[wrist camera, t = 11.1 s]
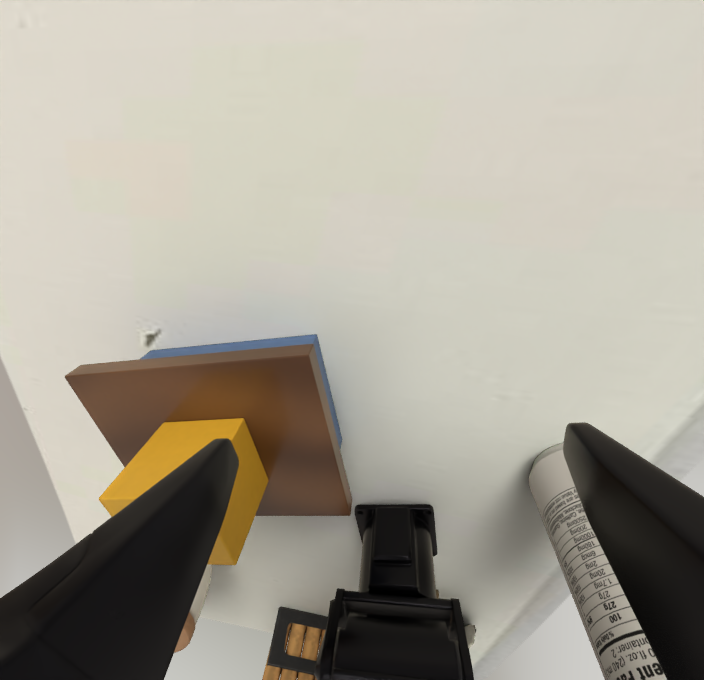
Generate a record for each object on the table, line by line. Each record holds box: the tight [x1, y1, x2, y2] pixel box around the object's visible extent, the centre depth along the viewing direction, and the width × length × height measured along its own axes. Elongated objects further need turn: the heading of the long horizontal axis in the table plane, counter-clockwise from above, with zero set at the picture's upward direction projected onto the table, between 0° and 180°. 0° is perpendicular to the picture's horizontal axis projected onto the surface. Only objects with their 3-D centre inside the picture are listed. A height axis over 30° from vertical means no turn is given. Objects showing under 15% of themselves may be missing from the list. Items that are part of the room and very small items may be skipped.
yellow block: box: [99, 418, 269, 565], centre depth 18 cm, size 5×5×5 cm
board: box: [65, 344, 352, 516], centre depth 21 cm, size 12×14×1 cm
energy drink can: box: [529, 443, 667, 680], centre depth 18 cm, size 6×6×15 cm
